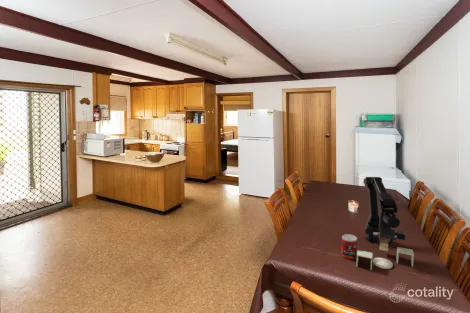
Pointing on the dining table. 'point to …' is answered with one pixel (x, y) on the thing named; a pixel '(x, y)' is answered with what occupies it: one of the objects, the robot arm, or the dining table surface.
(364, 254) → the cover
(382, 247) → the block
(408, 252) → the cover
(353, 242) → the canned food
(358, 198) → the dining table surface
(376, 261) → the saucer
